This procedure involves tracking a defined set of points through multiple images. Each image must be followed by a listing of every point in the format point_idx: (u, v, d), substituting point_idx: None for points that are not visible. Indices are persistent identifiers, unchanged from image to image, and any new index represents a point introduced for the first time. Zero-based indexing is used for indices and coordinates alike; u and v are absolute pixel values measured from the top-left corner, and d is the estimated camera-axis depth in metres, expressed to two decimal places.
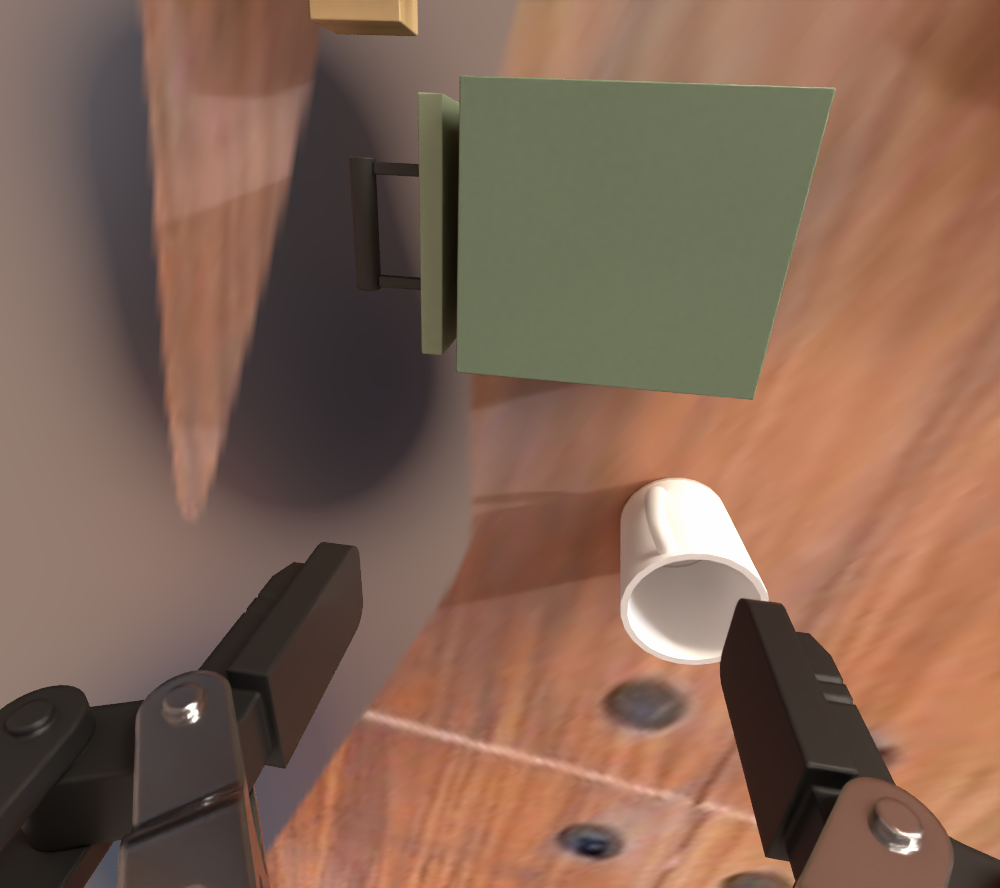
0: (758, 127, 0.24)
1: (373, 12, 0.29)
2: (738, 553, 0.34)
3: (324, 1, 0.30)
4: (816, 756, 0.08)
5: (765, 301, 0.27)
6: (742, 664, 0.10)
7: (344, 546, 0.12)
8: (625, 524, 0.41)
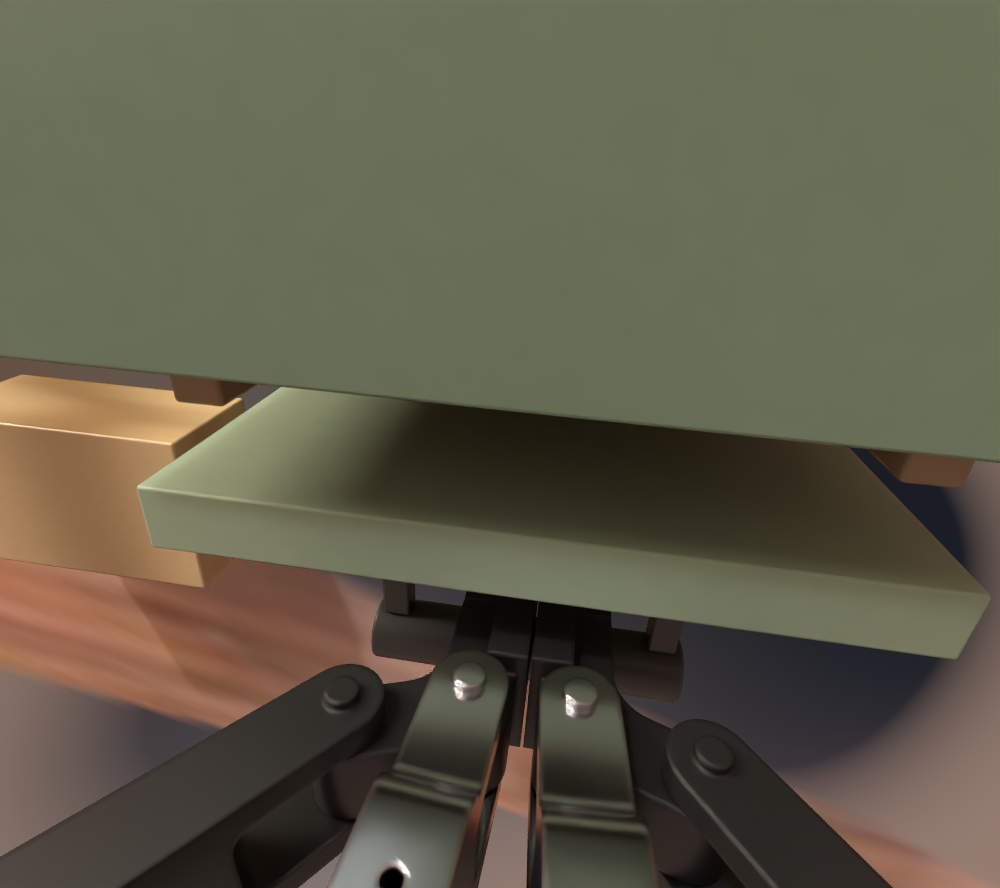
0: None
1: None
2: None
3: (175, 562, 0.17)
4: (545, 652, 0.09)
5: None
6: None
7: None
8: None
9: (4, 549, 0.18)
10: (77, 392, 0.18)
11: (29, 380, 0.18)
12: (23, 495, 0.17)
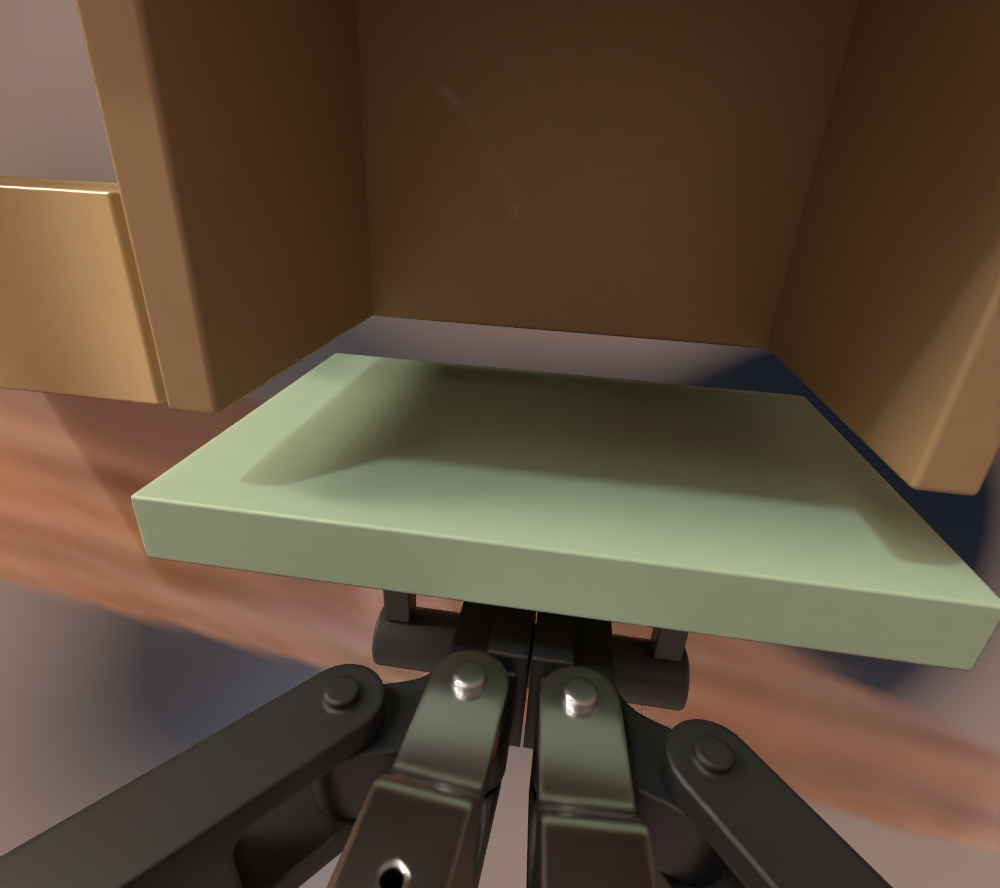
0: None
1: (111, 260, 0.13)
2: None
3: (122, 369, 0.14)
4: (545, 652, 0.09)
5: None
6: None
7: None
8: None
9: None
10: (8, 178, 0.15)
11: None
12: None
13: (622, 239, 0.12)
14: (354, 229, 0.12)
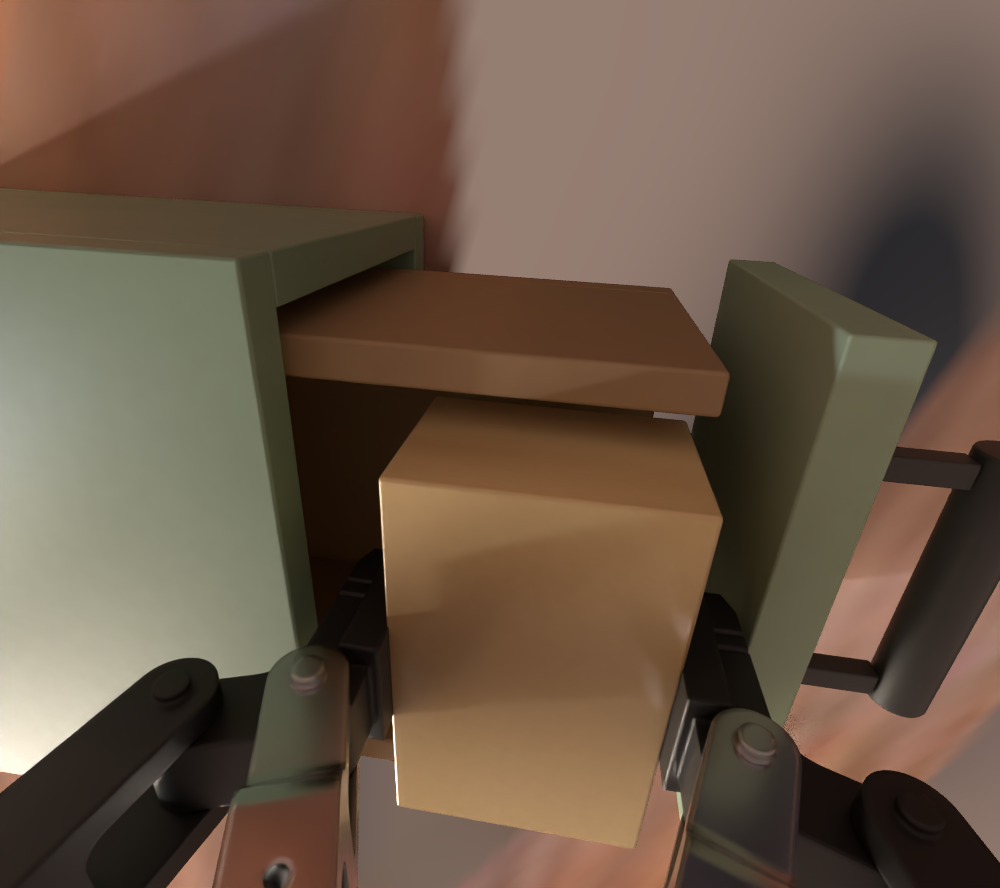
0: None
1: (472, 510, 0.08)
2: None
3: (649, 557, 0.08)
4: (698, 692, 0.09)
5: None
6: None
7: None
8: None
9: (621, 808, 0.11)
10: None
11: None
12: (513, 739, 0.10)
13: None
14: None
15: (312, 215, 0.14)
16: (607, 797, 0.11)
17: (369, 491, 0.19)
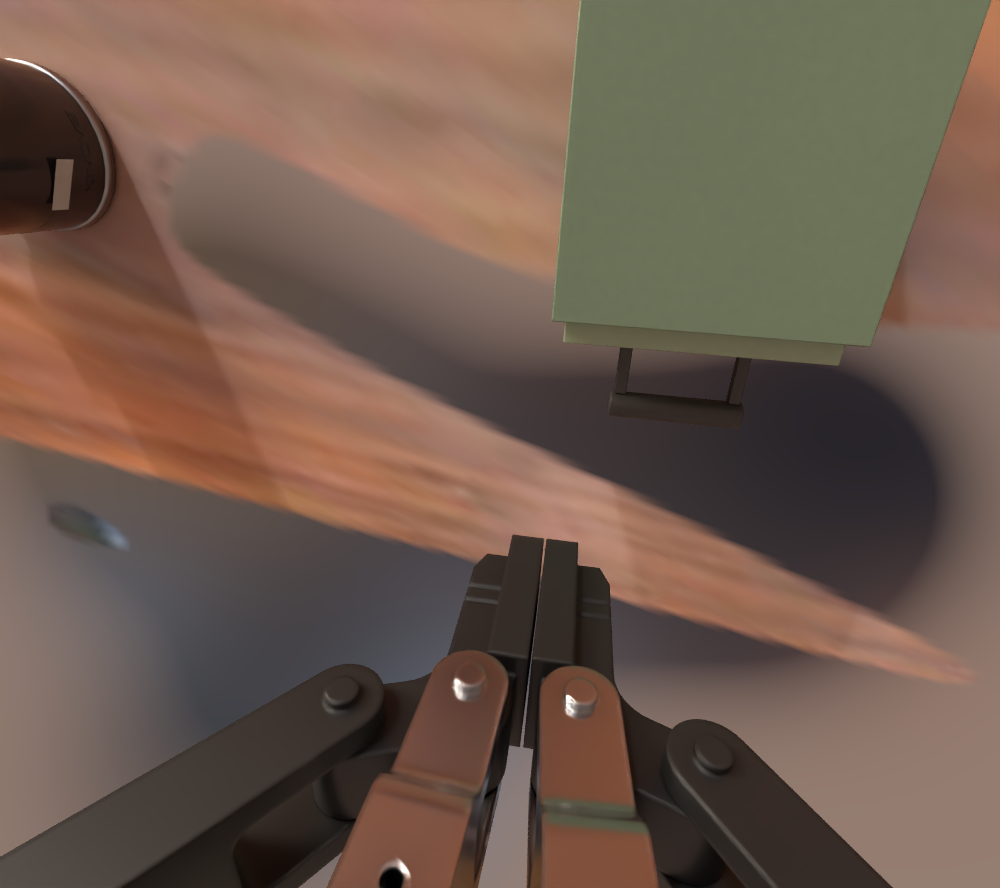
0: None
1: None
2: None
3: None
4: (545, 652, 0.09)
5: None
6: None
7: (536, 538, 0.12)
8: None
9: None
10: None
11: None
12: None
13: None
14: None
15: None
16: None
17: None
